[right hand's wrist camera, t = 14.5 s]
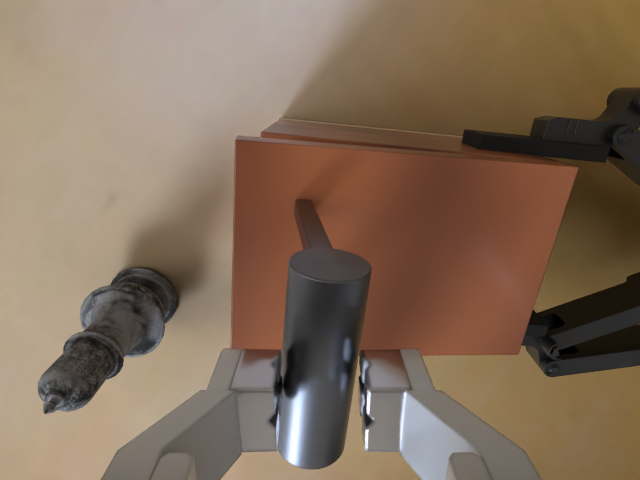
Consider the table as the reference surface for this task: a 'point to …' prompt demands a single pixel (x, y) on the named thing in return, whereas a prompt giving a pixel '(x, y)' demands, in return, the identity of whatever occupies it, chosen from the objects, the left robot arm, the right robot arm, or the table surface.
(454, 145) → the chest
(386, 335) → the lid
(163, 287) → the grey chess piece
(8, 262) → the table surface
